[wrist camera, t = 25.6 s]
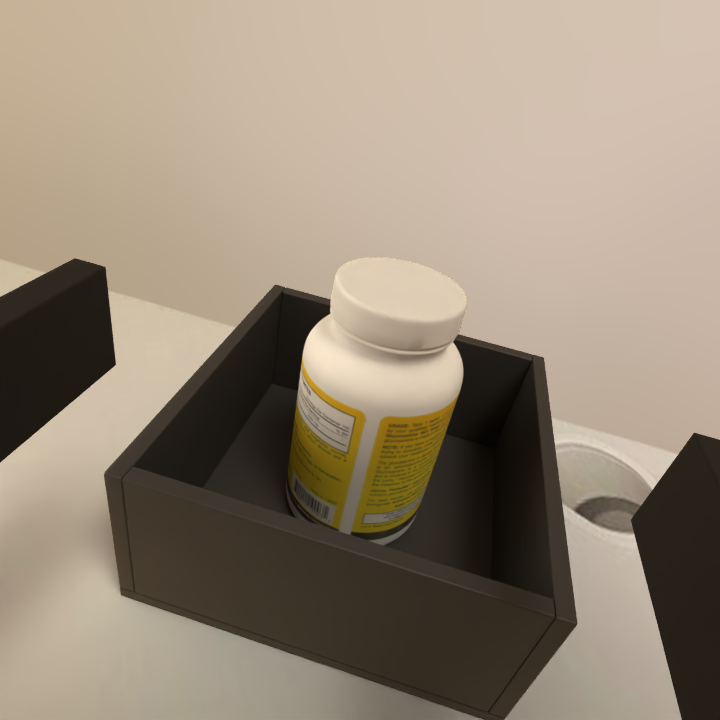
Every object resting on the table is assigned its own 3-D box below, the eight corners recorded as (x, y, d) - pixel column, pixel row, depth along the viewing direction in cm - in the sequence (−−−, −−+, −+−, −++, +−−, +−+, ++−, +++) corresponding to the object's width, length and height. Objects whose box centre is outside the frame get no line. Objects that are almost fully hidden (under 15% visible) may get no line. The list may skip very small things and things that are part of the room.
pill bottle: (418, 464, 27) (485, 268, 21) (412, 570, 22) (498, 351, 15) (300, 437, 27) (331, 234, 21) (266, 536, 22) (294, 305, 15)
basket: (501, 450, 30) (544, 357, 26) (500, 725, 18) (578, 624, 14) (265, 381, 31) (275, 283, 27) (120, 595, 19) (102, 473, 15)
